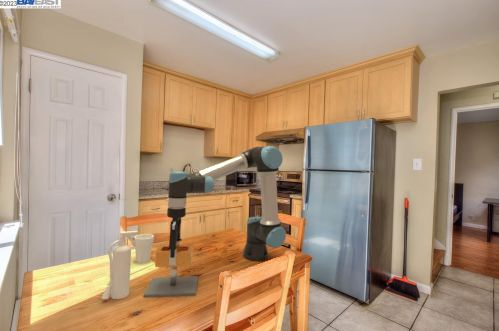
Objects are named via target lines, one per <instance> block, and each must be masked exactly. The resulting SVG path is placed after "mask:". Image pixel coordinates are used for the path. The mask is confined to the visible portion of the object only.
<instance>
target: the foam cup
mask: <svg viewBox="0 0 499 331" xmlns="http://www.w3.org/2000/svg"><path fill="white" fill-rule="evenodd" d="M154 236H155V235H154V234H152V233H142V234H136V235H134V237H133V239H134V240H135V243H136V245H135V246H134V250H135V251H134V252H135V260H136V263H137V264H145V263H148V262H150V259H151V256H152V255H151V254H152V248H153V245H154V244H153V243H154V240H155V237H154Z"/></svg>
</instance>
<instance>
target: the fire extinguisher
mask: <svg viewBox="0 0 499 331" xmlns="http://www.w3.org/2000/svg"><path fill="white" fill-rule="evenodd" d="M137 235H139V231H138V230H130V231H128V230H127V231H119V233H118V236H117V237H118V238H119V239H117V240H115V241H113V242H112V243H111V244H109V249H108V252H107V253H108V257H109V282H108V285H107V286H106V288H105V290H104V292H103V294H102V296H101V299H102V300H108V299H110V298H111V299H113V300H122V299H123V298H124V299H125V298H126V297H128V295H129V294H130V282H131V266H132V264H131V263H132V262H131V261H132V260H131V259H132V248H131V246H133V247H135V245H136V243H135V240H134V237H131V236H137ZM126 238H127V239H128V240H129V241H130V244H131V246H130V245H129V244H127V240H126ZM116 244H118V245H116ZM114 245H116V246H114ZM113 246H114V247H113Z"/></svg>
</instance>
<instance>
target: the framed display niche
mask: <svg viewBox="0 0 499 331" xmlns="http://www.w3.org/2000/svg"><path fill="white" fill-rule="evenodd" d="M168 248H169V244H168V245H159V246H158V248H157V250H156V252H155V265H154V267H155V268H166V267H177V268H178V267H179V268H180V267H191V266H192V262H193V261H192V260H193V248H194V245H191V244H185V245H184V244H183V245H181V244H180V245H176V248H177V253H176V265H169V251H170V250H168Z"/></svg>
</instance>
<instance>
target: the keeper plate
mask: <svg viewBox="0 0 499 331" xmlns="http://www.w3.org/2000/svg"><path fill="white" fill-rule="evenodd" d="M198 279H199V276H196V275H195V276H194V275H193V276H177V277H176V285H175V286H170V276H164V277H163V276H161V277H160V276H158V277H157V276H156V277H152V278H151V280H150V282H149V284H148V286H147V288H146V289H145V291H144V294H143V298H158V297H159V298H162V297H185V296H188V297H189V296H190V297H191V296H196V294H197V287H198Z"/></svg>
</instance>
